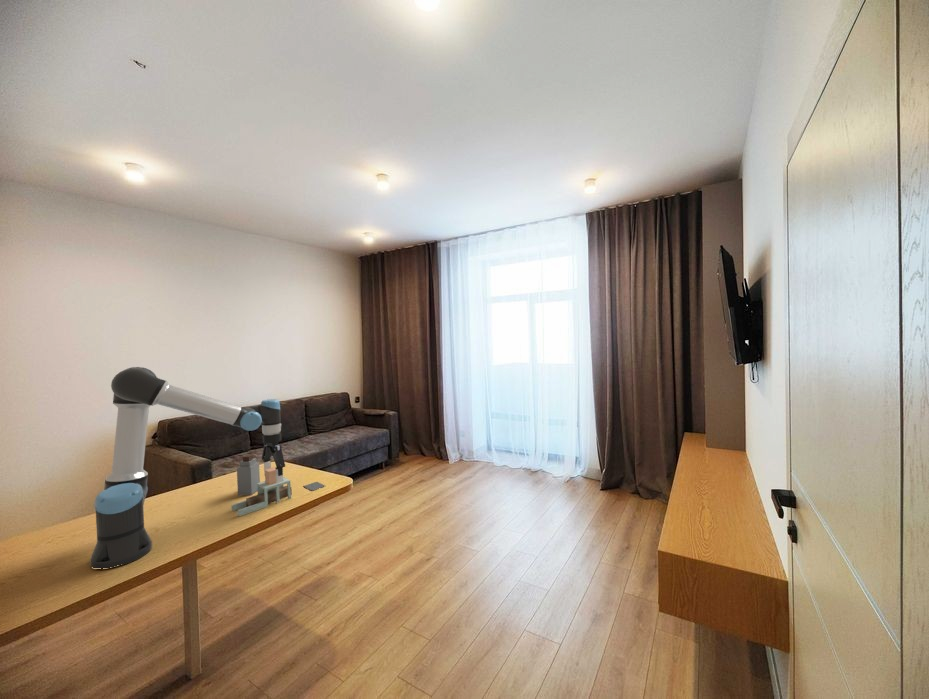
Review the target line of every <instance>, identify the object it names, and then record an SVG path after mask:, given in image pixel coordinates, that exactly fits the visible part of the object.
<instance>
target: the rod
mask: <svg viewBox="0 0 929 699" xmlns="http://www.w3.org/2000/svg"><path fill="white" fill-rule="evenodd" d="M292 490H293V489H292V488H291V496H292ZM267 494H268V504H269V503H272V502H275V501H276V489H274V490H271V491H268V492H267ZM279 495H280V500H282V499H284V498H288V489H287V485H283V487H281V488H279ZM245 500H246V507H248V506H251V505H254V504H257V503H260V502H263V501H264V493H262V494H259V495H258V494H256V495H253V496H252V495H251V496H249V497H247V498H245Z"/></svg>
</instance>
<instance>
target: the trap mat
mask: <svg viewBox="0 0 929 699" xmlns="http://www.w3.org/2000/svg"><path fill="white" fill-rule="evenodd" d="M324 486H325V487H326V485H325V484H323V483H321V482H318V481H315V482H312V483H309V484H305V485H303V488H306V489H307V490H309V491H311V492H314V491H316V490H319V488H320V489H322V488H325V487H324Z"/></svg>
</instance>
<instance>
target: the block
mask: <svg viewBox="0 0 929 699" xmlns="http://www.w3.org/2000/svg"><path fill="white" fill-rule="evenodd" d="M275 468H276V466H273V467H271V468H270V469H266V470H265V476H264V481H265V483H267V484H268V485H271V484H274V483H276V469H275Z"/></svg>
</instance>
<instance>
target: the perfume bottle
mask: <svg viewBox="0 0 929 699" xmlns="http://www.w3.org/2000/svg"><path fill="white" fill-rule="evenodd" d="M236 478H237V481H236V482H237V496H252V495H254V494H256V493H258V492H257V483H260V482H261V480H260V479H261V476H260V461H259V462H257V458H254V454H245V455H243V456H242V460H241V461H238V466H237V467H236Z"/></svg>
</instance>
